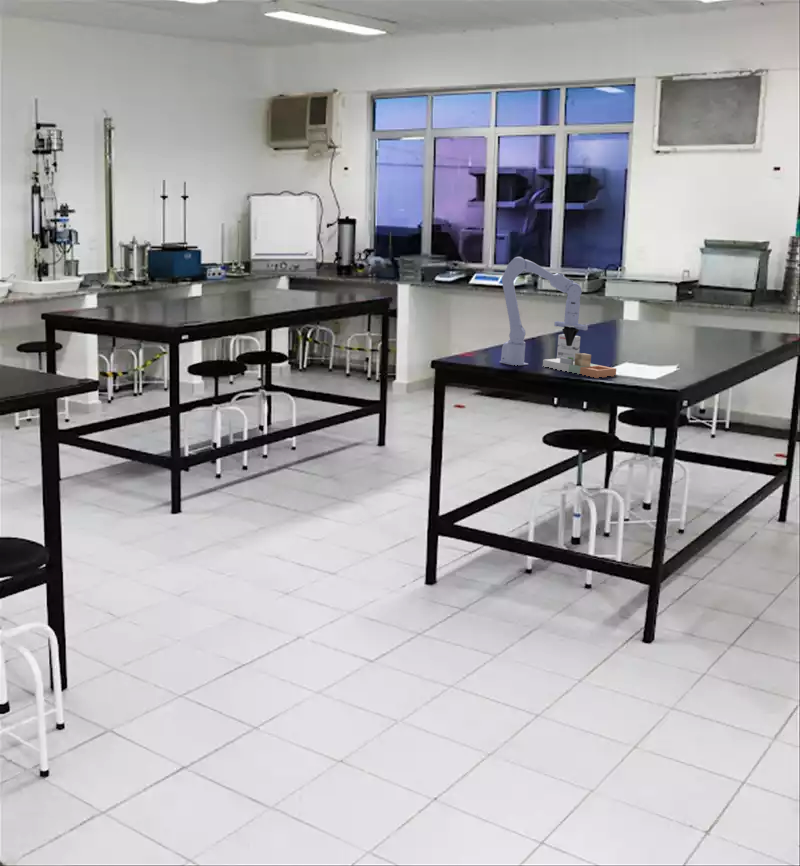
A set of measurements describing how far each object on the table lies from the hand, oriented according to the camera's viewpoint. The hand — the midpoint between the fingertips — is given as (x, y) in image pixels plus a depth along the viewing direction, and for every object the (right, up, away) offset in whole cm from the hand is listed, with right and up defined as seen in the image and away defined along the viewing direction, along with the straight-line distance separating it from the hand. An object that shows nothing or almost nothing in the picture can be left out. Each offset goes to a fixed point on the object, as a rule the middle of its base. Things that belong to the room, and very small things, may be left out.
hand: (569, 345), depth 421 cm
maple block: (+4, -9, -8) cm, 13 cm away
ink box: (+2, -6, +17) cm, 18 cm away
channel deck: (+3, -11, -5) cm, 13 cm away
